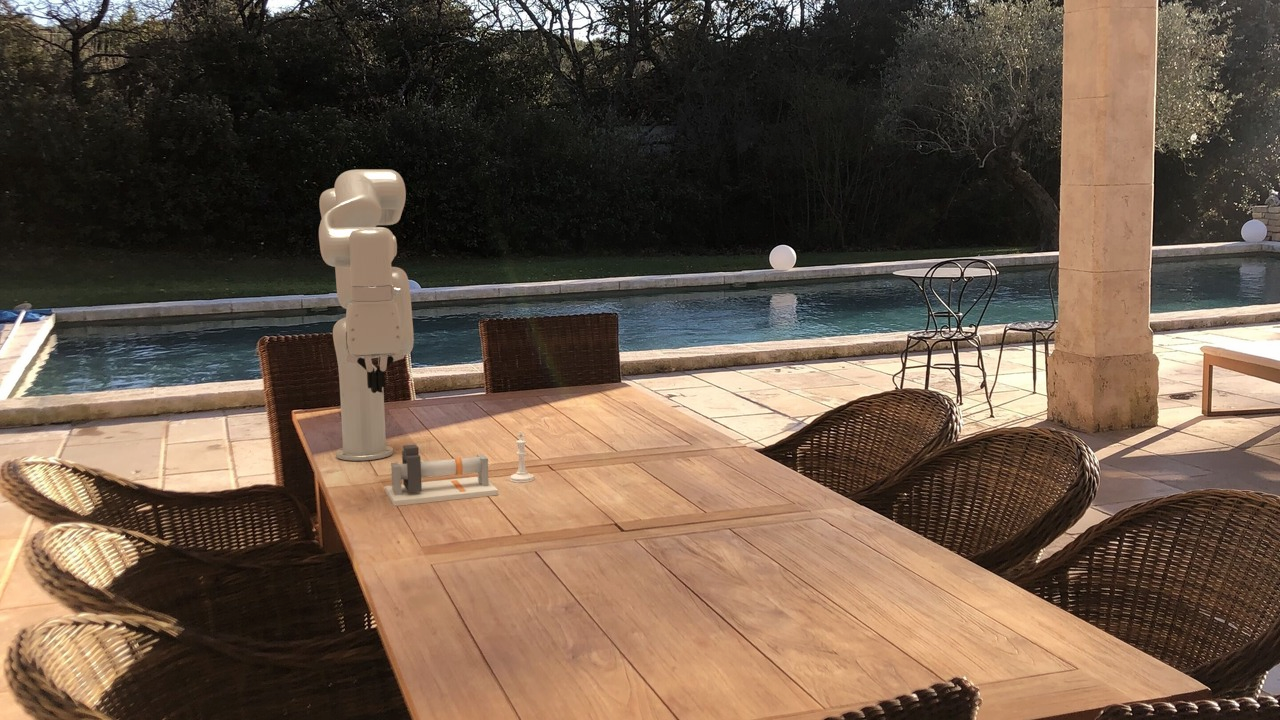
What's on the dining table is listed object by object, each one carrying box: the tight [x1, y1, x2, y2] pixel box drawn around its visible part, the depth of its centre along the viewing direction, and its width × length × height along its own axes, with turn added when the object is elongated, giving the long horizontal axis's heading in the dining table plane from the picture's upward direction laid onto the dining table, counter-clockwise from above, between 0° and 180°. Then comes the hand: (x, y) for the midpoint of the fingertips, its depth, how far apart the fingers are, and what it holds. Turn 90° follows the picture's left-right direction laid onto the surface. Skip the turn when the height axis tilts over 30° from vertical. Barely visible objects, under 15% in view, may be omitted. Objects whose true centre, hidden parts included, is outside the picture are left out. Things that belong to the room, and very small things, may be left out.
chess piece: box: [509, 431, 535, 484], centre depth 229 cm, size 5×5×10 cm
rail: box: [384, 454, 499, 507], centre depth 220 cm, size 20×12×7 cm, turn 111°
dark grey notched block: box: [401, 444, 422, 493], centre depth 217 cm, size 2×7×8 cm, turn 21°
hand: (376, 391), depth 213 cm, fingers closed
